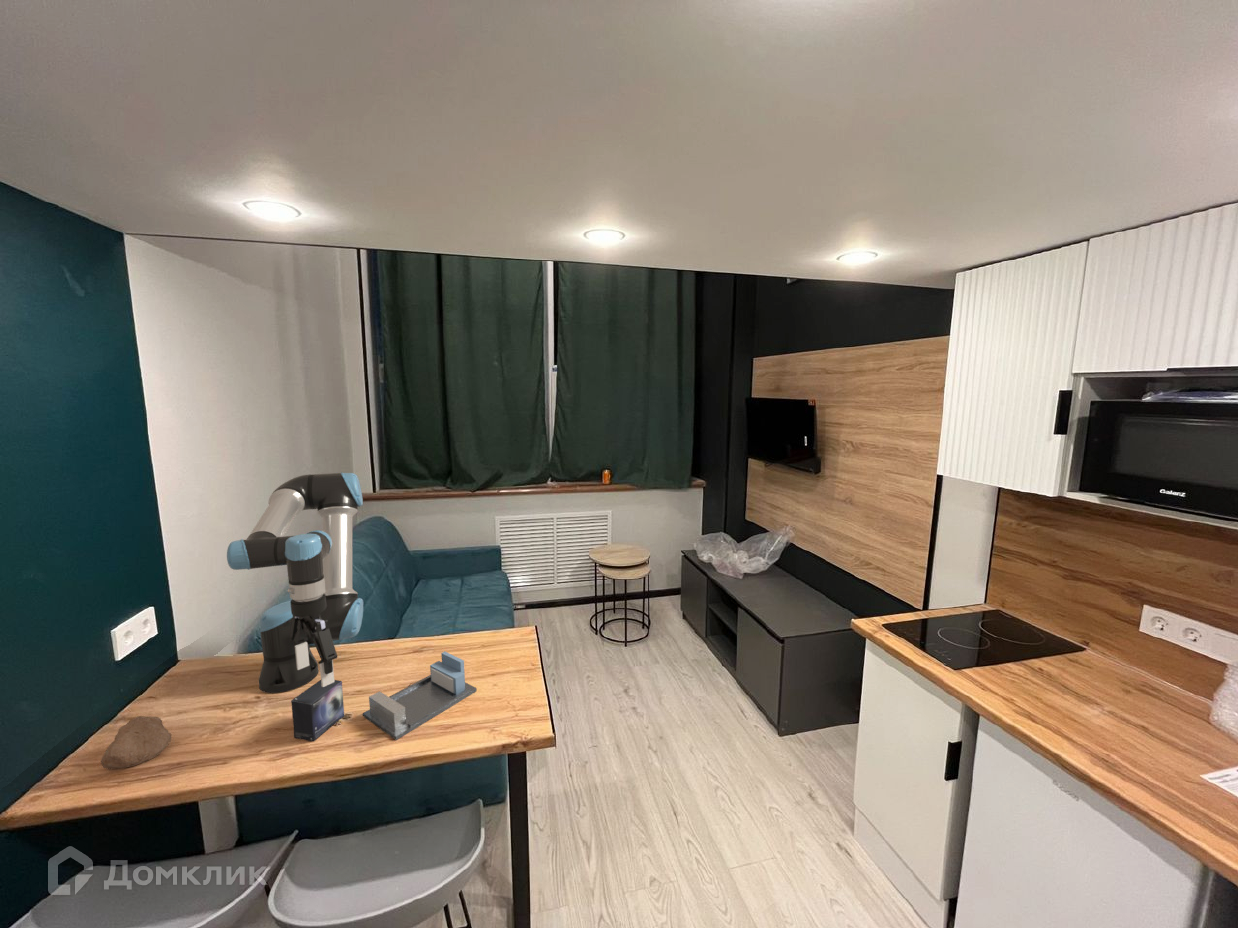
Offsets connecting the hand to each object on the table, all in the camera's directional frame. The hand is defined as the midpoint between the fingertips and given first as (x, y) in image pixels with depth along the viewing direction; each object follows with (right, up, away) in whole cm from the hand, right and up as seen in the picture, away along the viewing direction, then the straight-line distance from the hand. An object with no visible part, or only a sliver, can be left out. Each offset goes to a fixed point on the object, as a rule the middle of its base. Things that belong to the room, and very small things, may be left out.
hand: (315, 675), depth 125 cm
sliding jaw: (+28, -11, +19) cm, 35 cm away
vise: (+22, -13, +11) cm, 28 cm away
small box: (0, -15, +2) cm, 15 cm away
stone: (-37, -16, -7) cm, 41 cm away
